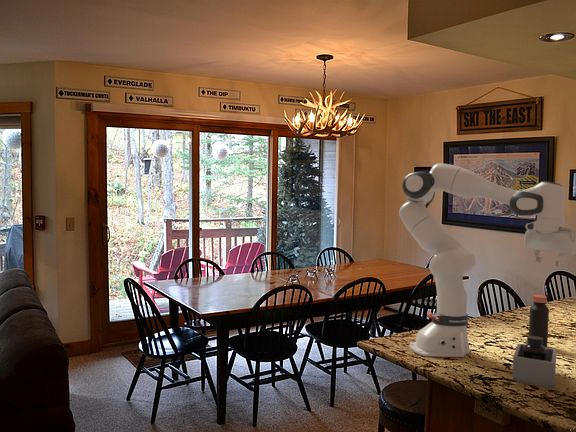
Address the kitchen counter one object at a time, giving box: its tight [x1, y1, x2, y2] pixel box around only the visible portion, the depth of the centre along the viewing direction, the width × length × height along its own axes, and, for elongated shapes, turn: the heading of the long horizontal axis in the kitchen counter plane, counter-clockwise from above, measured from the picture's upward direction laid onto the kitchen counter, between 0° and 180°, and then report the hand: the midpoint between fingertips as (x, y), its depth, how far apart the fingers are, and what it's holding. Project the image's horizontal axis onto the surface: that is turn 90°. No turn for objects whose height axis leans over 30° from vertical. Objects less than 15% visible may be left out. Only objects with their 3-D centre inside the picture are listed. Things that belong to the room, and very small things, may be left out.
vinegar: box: [528, 294, 550, 348], centre depth 204 cm, size 7×7×20 cm
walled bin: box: [512, 343, 557, 389], centre depth 171 cm, size 16×12×8 cm
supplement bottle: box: [523, 335, 547, 361], centre depth 171 cm, size 7×7×12 cm
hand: (548, 264), depth 187 cm, fingers open, 8 cm apart
